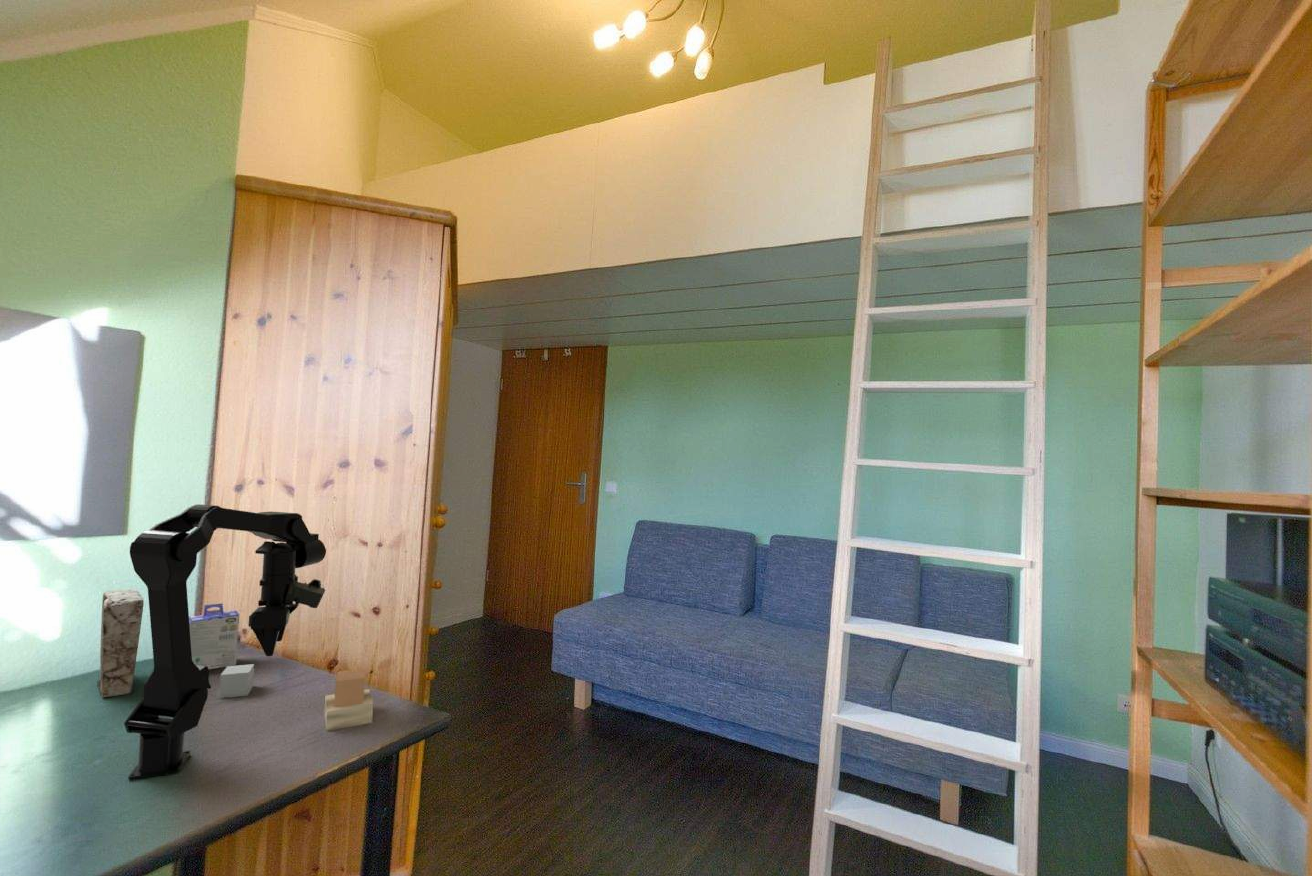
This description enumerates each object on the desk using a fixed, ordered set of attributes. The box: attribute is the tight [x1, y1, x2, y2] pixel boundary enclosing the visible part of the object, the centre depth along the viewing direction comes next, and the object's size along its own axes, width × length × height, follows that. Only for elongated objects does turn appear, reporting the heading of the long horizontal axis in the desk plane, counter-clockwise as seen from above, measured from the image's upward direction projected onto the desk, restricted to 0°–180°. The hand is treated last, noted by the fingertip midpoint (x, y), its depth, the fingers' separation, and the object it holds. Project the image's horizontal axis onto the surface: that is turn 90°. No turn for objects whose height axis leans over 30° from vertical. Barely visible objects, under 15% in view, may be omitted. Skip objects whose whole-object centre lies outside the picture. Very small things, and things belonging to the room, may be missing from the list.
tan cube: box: [334, 668, 367, 707], centre depth 117 cm, size 5×5×5 cm
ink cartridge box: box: [189, 603, 240, 671], centre depth 139 cm, size 10×6×14 cm, turn 133°
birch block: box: [324, 688, 374, 732], centre depth 117 cm, size 8×8×4 cm
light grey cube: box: [218, 663, 255, 699], centre depth 126 cm, size 5×5×5 cm
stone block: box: [96, 589, 145, 698], centre depth 125 cm, size 13×7×20 cm, turn 52°
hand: (274, 648), depth 120 cm, fingers open, 9 cm apart
